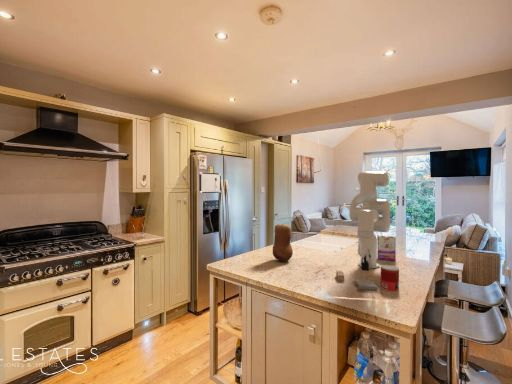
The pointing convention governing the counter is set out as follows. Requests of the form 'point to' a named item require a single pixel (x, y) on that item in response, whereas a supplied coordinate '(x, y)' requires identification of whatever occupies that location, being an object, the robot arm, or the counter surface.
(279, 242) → the butternut squash
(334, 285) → the counter surface
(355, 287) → the board
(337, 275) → the tall wooden pillar
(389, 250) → the candy bar box
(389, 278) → the canned food
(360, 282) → the tile
